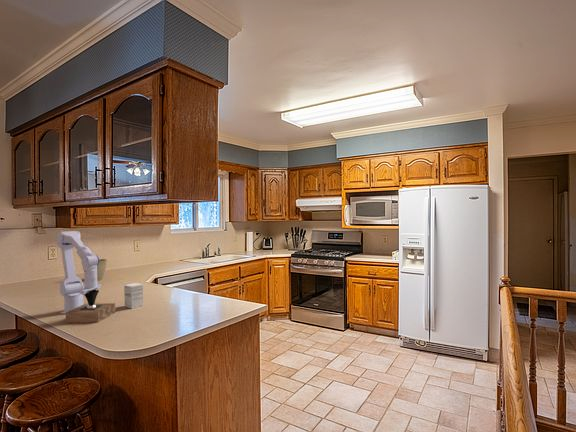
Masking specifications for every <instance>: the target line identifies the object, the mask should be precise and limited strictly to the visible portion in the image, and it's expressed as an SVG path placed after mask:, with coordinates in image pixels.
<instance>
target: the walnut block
mask: <svg viewBox="0 0 576 432" xmlns="http://www.w3.org/2000/svg"><path fill="white" fill-rule="evenodd" d="M95 304H96V307H94V308H87V305H89V304H88V303H84V305H81V306H79V307H77V308H75V309H73V310H70V311H68V312H66V313H65V323H66V324H67V323H69V324H71V323H72V324H73V323H75V324H76V323H77V324H78V323H81V324H82V323H100V322H101V321H104V320H105V319H107V318H108V317H111V316H112V315H114V314H115V313H116V303H115V302H106V303H105V302H104V303H103V302H102V303H96V302H95Z"/></svg>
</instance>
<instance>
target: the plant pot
mask: <svg viewBox="0 0 576 432" xmlns="http://www.w3.org/2000/svg"><path fill="white" fill-rule="evenodd" d="M107 262H108V261H107V259H105V258H104V259H103V258H102V259H101V258H99V264H98V265H97V282H98V281H102V280H103V278H104V275H105V271H106V267H107Z"/></svg>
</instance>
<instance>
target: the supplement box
mask: <svg viewBox="0 0 576 432" xmlns="http://www.w3.org/2000/svg"><path fill="white" fill-rule="evenodd" d="M143 306H144V284H143V283H137V282H134V283H128V284H124V307H125V308H129V309H131V310H133V309H136V308H141V307H143Z"/></svg>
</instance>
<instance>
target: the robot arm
mask: <svg viewBox="0 0 576 432" xmlns="http://www.w3.org/2000/svg"><path fill="white" fill-rule="evenodd" d="M81 238H82V237H81V233H80V231H79V230H73V231H72V230H70V231H69V230H68V231H58V233H57V234H56V238H55V239H56V244H57V247H58V248H59V249H60V250H61V252H60V253H61V256H62V265H63V270H64V271H63V273H64V279H63V280H62V281H61V282H60V283H59V293H60V295H61V296H62V297H64V299H63V302H64V303H63V304H64V307H63V309H64V310H63V311H61V312H60V314H63V315H64V314H66V312H68V311H70V310H73V309H75V308H77V307H79V306H81V305H84V304H85V302H84V301H85V298H86V302H87V304H89V305H94V304H95V303H96V299H97V296H98V294H99V292H100V289H102V284H101V283H98V281H97V265H98V264H99V259H100V256H98V254H95V253H93V252H92V251H91V249H90V248H89V247H88V246H85V245H84V243H83V242H82V240H81ZM73 248H75V249H76V255H77V256H78V257H79V258H80V260H81V265H82V270H83V274H84V278H83V279H84V282H83V281H82V278H80V277H78V276H77V274H76V267H75V262H74V261H75V260H74V255H73V254H74V253H73ZM83 283H84V284H83ZM84 297H85V298H84Z"/></svg>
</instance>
